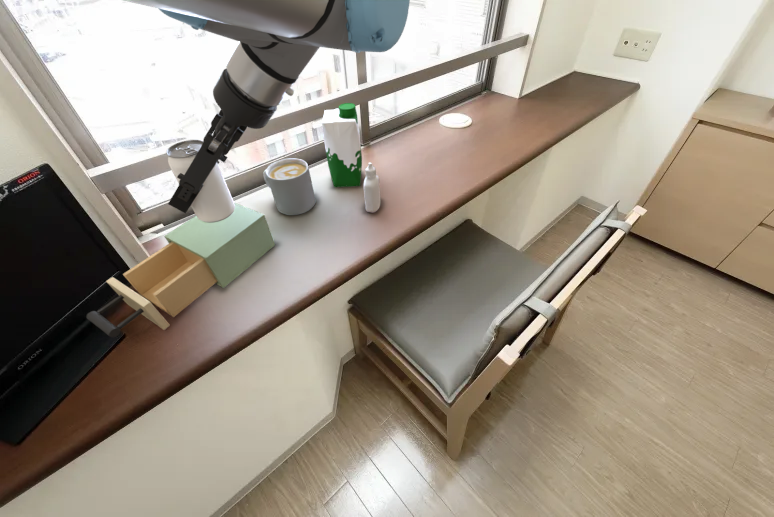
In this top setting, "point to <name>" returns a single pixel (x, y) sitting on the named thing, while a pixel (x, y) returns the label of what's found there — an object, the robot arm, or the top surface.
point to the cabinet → (226, 242)
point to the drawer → (158, 287)
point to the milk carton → (343, 145)
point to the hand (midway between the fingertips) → (187, 194)
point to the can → (214, 193)
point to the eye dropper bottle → (372, 189)
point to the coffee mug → (290, 186)
